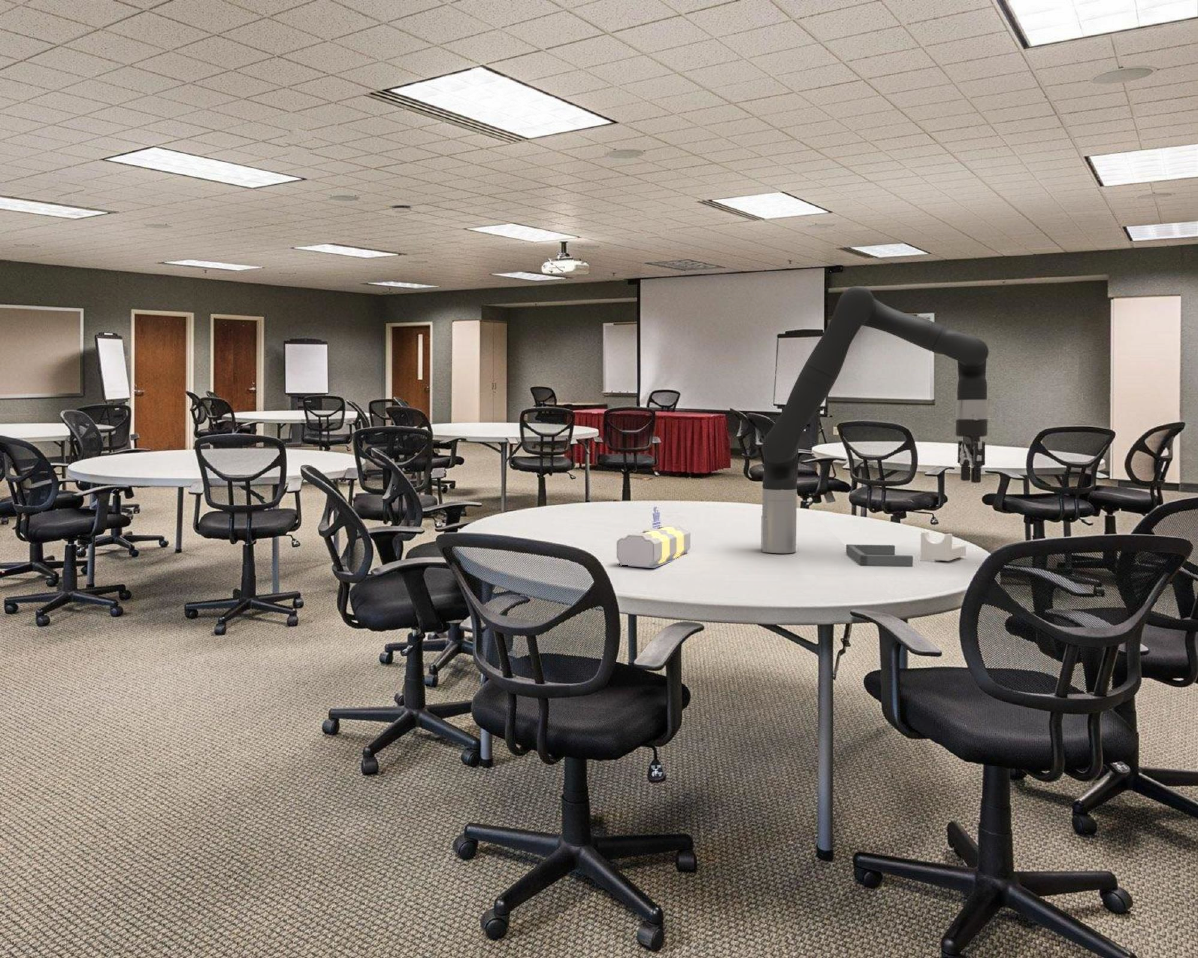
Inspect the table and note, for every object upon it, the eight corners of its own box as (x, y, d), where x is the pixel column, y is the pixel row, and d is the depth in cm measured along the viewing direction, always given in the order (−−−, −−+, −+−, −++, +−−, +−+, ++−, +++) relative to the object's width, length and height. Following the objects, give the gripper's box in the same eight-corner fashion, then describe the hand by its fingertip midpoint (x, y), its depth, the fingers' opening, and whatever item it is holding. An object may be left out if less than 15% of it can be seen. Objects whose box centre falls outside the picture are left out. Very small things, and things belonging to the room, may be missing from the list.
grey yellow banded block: (655, 552, 251) (655, 505, 250) (690, 554, 246) (690, 506, 245) (616, 565, 228) (616, 513, 227) (654, 567, 224) (654, 515, 223)
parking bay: (860, 565, 225) (861, 555, 225) (846, 553, 246) (846, 544, 246) (912, 566, 224) (912, 556, 224) (893, 554, 245) (893, 545, 245)
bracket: (948, 564, 229) (948, 534, 229) (920, 561, 234) (921, 532, 233) (965, 558, 239) (966, 530, 238) (938, 556, 243) (939, 528, 243)
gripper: (948, 418, 238) (947, 480, 239) (965, 417, 224) (964, 483, 225) (977, 418, 238) (976, 480, 239) (996, 417, 224) (995, 483, 224)
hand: (970, 481), depth 232 cm, fingers open, 8 cm apart
